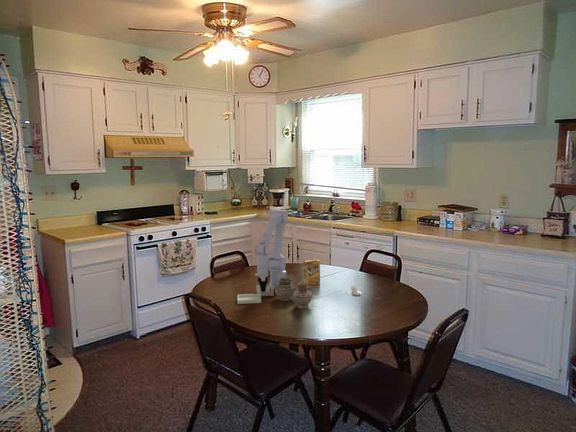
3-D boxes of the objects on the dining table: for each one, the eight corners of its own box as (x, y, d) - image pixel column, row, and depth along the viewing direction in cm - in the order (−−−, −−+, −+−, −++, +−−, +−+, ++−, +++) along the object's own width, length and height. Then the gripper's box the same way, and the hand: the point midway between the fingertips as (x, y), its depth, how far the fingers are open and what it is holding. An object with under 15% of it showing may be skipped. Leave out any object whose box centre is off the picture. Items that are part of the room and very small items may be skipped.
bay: (273, 291, 235) (272, 284, 235) (273, 295, 229) (273, 288, 228) (256, 292, 234) (256, 285, 234) (256, 296, 228) (256, 289, 227)
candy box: (306, 288, 240) (306, 262, 238) (303, 286, 244) (303, 260, 242) (320, 286, 243) (320, 260, 241) (317, 284, 247) (316, 258, 245)
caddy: (269, 292, 234) (269, 281, 233) (269, 295, 230) (269, 283, 229) (255, 293, 233) (255, 281, 232) (255, 295, 229) (255, 283, 228)
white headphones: (361, 297, 226) (361, 289, 225) (346, 296, 228) (346, 288, 227) (361, 291, 234) (362, 284, 234) (347, 291, 236) (347, 283, 235)
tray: (260, 296, 227) (260, 293, 227) (261, 302, 218) (261, 299, 218) (237, 297, 226) (237, 294, 226) (237, 303, 217) (237, 300, 217)
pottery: (300, 312, 205) (300, 288, 203) (270, 298, 224) (269, 276, 222) (318, 306, 212) (318, 283, 210) (286, 294, 231) (286, 272, 229)
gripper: (255, 262, 236) (255, 286, 238) (255, 269, 222) (255, 294, 224) (267, 262, 237) (268, 285, 238) (268, 269, 222) (269, 294, 224)
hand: (263, 290), depth 231 cm, fingers closed on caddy, 4 cm apart
